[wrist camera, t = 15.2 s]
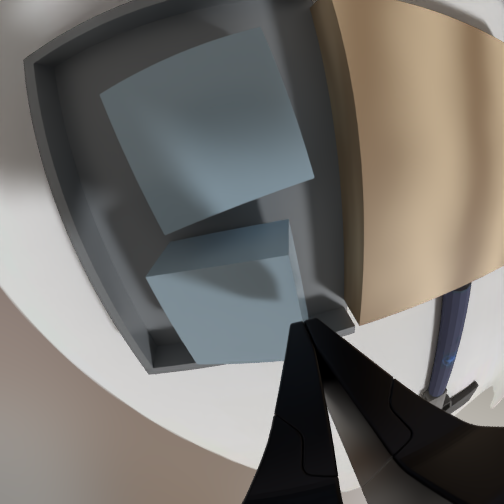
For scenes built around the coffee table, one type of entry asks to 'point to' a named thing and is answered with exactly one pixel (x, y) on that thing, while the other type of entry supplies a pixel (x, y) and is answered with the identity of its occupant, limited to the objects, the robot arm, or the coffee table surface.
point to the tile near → (208, 129)
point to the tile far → (232, 292)
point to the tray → (124, 181)
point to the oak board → (413, 150)
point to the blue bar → (449, 351)
